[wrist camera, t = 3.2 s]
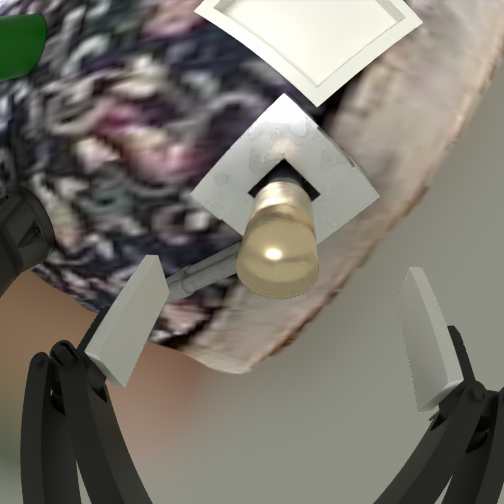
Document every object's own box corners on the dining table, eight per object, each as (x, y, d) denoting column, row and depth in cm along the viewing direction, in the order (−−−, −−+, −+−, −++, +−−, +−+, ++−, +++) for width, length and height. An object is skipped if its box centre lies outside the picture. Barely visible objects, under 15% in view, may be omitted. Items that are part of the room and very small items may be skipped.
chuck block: (284, 238, 32) (281, 270, 27) (207, 172, 28) (189, 195, 24) (364, 173, 26) (380, 196, 21) (285, 91, 22) (283, 93, 18)
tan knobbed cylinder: (285, 197, 29) (276, 309, 16) (255, 170, 28) (219, 267, 15) (315, 171, 27) (335, 271, 14) (285, 141, 25) (276, 217, 13)
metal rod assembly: (134, 305, 45) (123, 326, 41) (124, 295, 44) (111, 316, 40) (254, 249, 34) (249, 275, 30) (242, 232, 33) (234, 258, 29)
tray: (314, 104, 23) (317, 107, 20) (205, 18, 18) (193, 11, 16) (408, 27, 16) (422, 22, 13) (301, -60, 11) (302, -74, 8)
